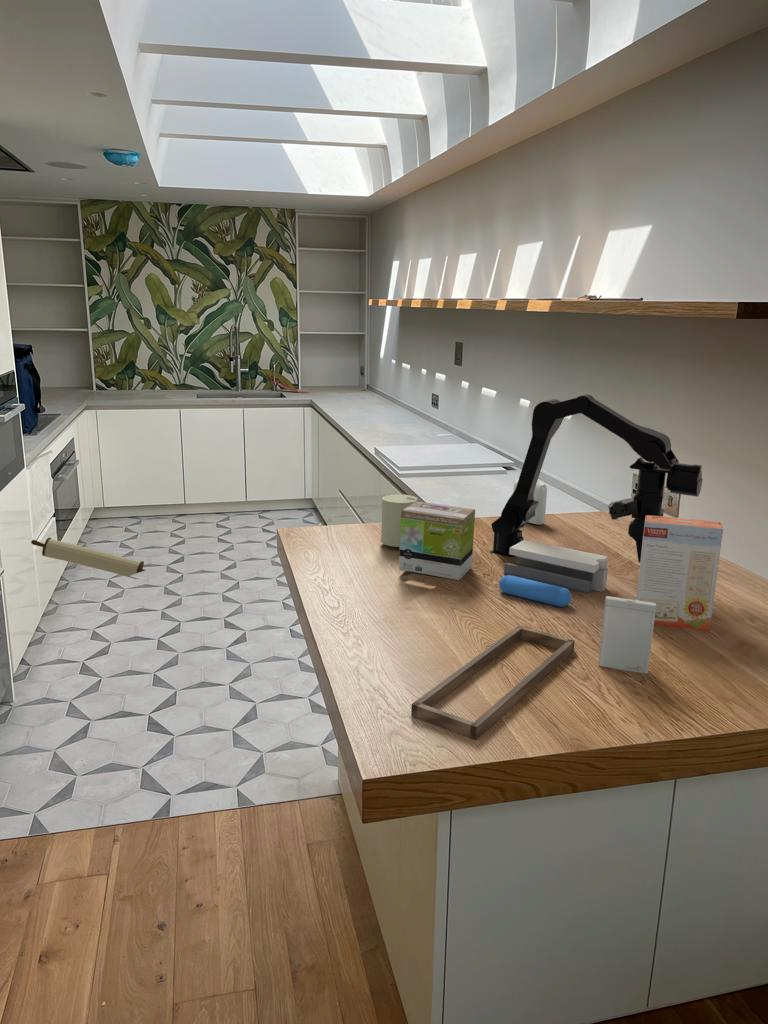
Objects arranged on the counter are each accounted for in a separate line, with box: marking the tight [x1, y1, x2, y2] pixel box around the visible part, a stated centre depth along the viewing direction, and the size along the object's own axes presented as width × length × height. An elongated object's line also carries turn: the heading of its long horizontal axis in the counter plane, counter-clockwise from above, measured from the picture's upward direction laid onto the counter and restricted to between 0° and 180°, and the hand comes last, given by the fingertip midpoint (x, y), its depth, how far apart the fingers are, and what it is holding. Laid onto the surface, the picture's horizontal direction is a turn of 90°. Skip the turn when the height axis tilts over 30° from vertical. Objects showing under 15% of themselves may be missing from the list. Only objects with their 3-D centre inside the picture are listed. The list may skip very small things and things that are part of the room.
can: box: [380, 493, 418, 548], centre depth 202 cm, size 9×9×12 cm
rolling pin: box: [30, 536, 146, 580], centre depth 204 cm, size 32×6×5 cm
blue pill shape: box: [498, 574, 572, 608], centre depth 166 cm, size 16×4×4 cm, turn 55°
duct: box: [503, 556, 609, 594], centre depth 177 cm, size 22×8×5 cm, turn 55°
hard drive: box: [598, 595, 656, 674], centre depth 134 cm, size 2×8×12 cm, turn 69°
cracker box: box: [635, 515, 724, 631], centre depth 153 cm, size 14×6×21 cm, turn 71°
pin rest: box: [410, 625, 576, 740], centre depth 130 cm, size 11×37×2 cm, turn 145°
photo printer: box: [512, 478, 548, 526], centre depth 224 cm, size 10×4×12 cm, turn 39°
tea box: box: [398, 500, 476, 582], centre depth 181 cm, size 15×10×15 cm, turn 68°
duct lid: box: [509, 539, 608, 573], centre depth 176 cm, size 21×8×2 cm, turn 55°
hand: (642, 556), depth 180 cm, fingers open, 9 cm apart
